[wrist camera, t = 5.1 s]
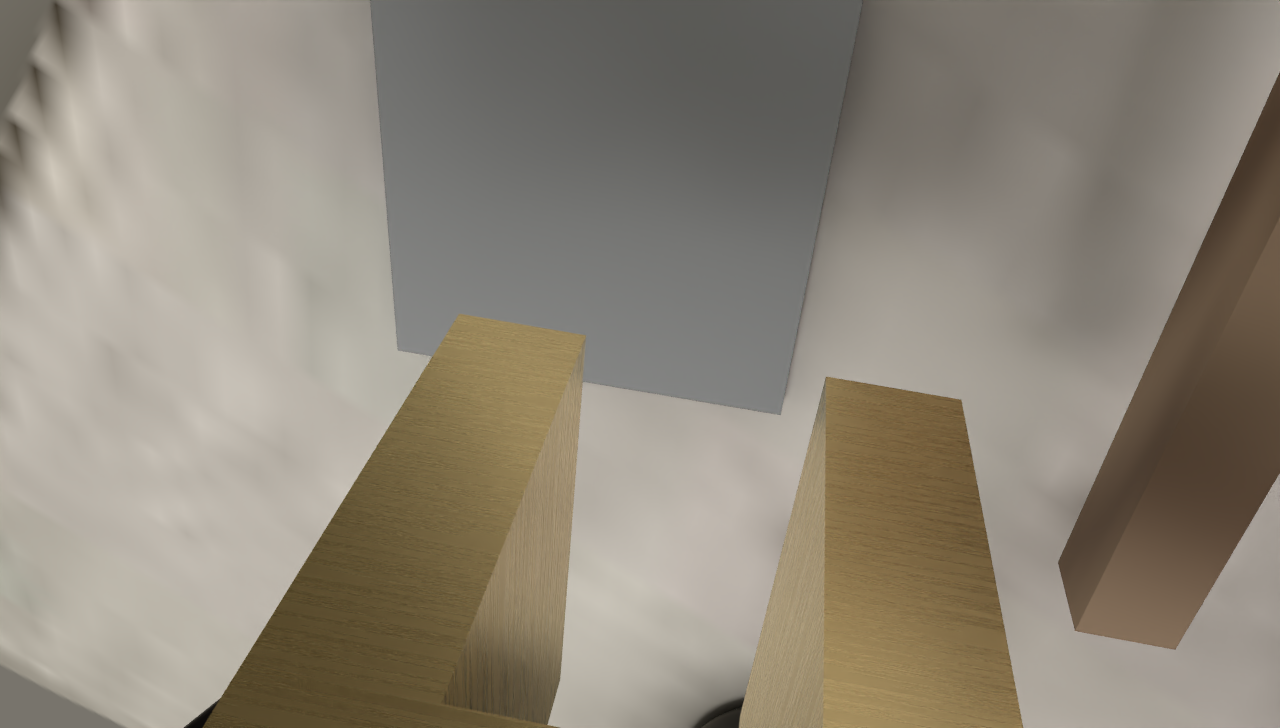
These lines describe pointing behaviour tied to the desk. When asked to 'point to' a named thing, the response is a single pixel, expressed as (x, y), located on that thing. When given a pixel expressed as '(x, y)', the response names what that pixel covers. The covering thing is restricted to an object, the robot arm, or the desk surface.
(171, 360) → the desk surface
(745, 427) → the desk surface
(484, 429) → the slotted brass block
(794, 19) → the slate mat
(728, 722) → the supplement bottle
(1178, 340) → the walnut stand
